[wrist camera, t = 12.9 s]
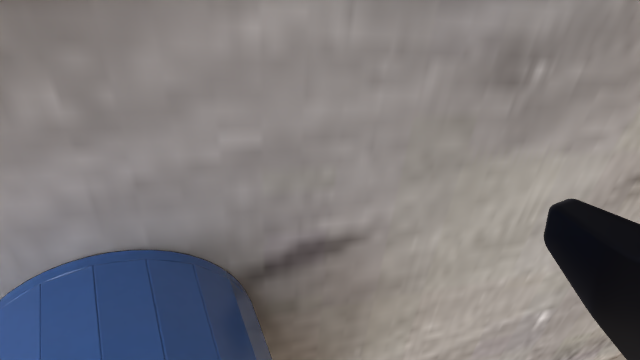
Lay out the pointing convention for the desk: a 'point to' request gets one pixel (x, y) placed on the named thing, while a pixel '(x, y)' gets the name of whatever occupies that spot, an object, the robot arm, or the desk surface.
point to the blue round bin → (131, 311)
